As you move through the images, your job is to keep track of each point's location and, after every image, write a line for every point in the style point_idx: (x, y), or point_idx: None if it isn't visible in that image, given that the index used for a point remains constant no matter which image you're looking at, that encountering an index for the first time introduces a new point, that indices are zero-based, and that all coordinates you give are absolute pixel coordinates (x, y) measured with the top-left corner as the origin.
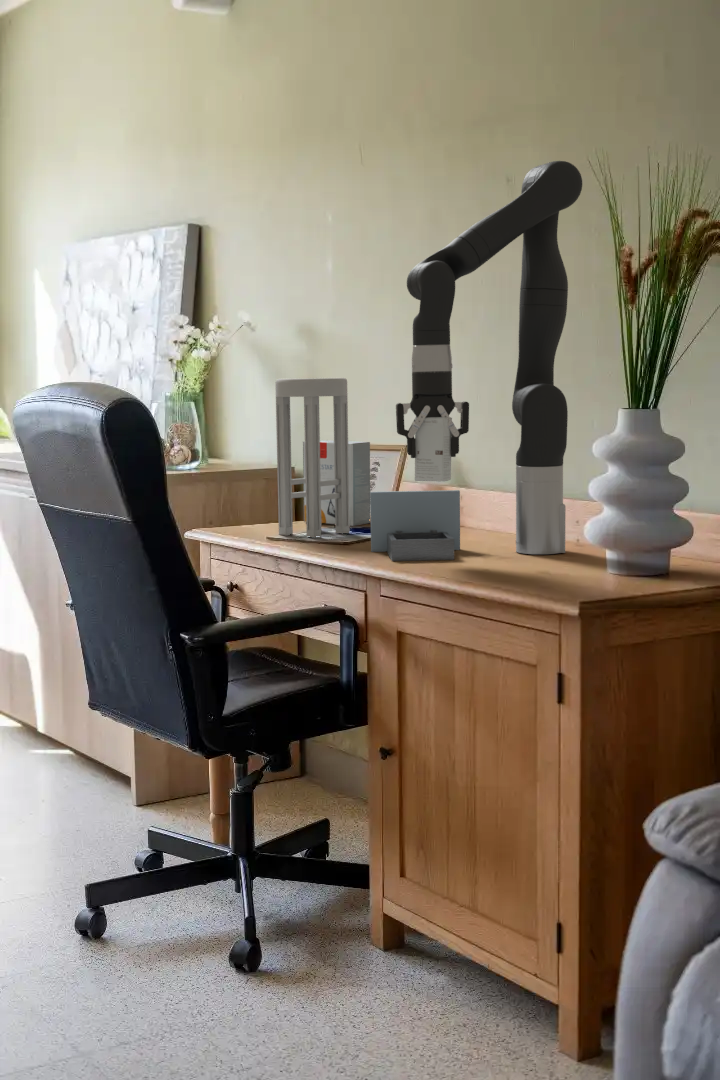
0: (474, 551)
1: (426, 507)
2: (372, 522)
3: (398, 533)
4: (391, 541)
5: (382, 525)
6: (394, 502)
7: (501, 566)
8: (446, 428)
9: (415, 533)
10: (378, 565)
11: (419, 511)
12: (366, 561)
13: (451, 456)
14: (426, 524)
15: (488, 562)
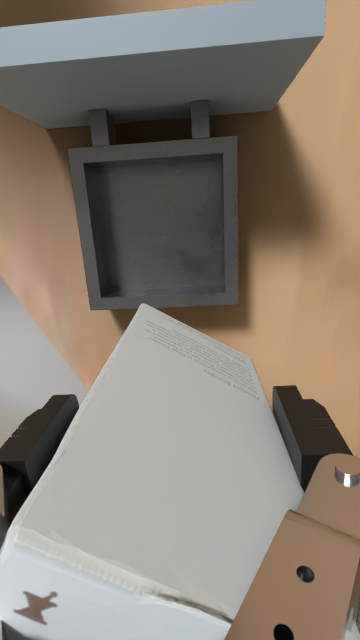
0: (303, 147)
1: (175, 77)
2: (9, 108)
3: (99, 161)
4: (91, 307)
5: (44, 108)
6: (50, 79)
7: (312, 390)
8: None
9: (147, 158)
10: (81, 350)
11: (151, 83)
12: (53, 294)
13: (273, 411)
14: (178, 96)
15: (298, 337)
